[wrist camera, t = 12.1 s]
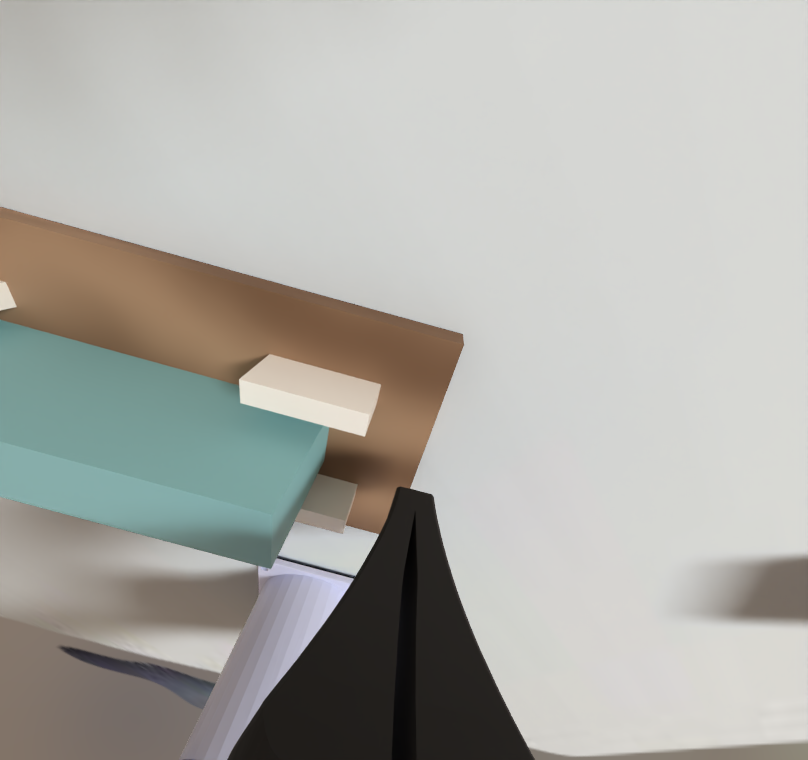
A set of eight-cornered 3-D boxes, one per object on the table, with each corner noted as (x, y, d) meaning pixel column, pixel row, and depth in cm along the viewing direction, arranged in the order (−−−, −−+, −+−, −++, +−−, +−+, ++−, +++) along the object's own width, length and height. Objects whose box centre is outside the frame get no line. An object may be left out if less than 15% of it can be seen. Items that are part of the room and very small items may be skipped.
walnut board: (394, 521, 17) (391, 537, 17) (-10, 413, 17) (-35, 423, 16) (462, 334, 11) (464, 344, 10) (-163, 162, 11) (-214, 157, 10)
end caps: (354, 497, 15) (342, 533, 14) (-7, 400, 15) (-66, 425, 13) (381, 384, 12) (369, 414, 10) (-92, 255, 12) (-187, 263, 10)
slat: (324, 460, 14) (271, 569, 10) (-7, 369, 14) (-210, 441, 10) (331, 410, 13) (272, 514, 8) (-40, 308, 12) (-298, 361, 8)
